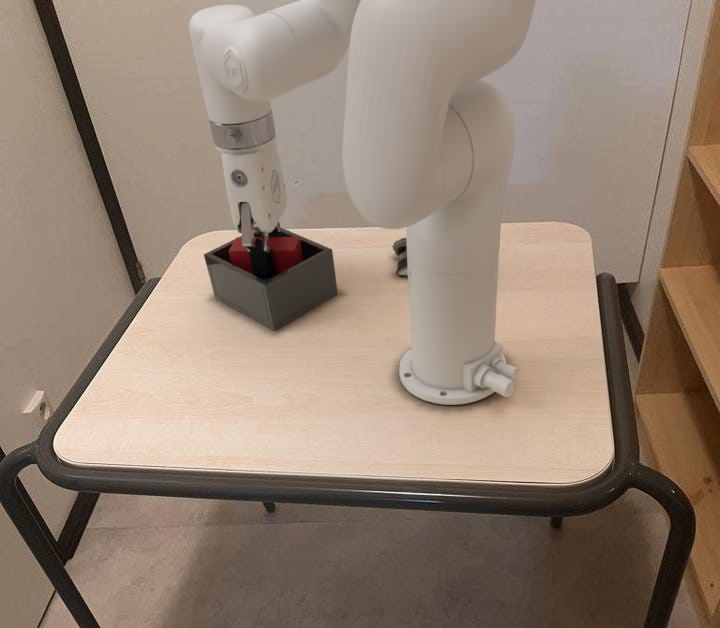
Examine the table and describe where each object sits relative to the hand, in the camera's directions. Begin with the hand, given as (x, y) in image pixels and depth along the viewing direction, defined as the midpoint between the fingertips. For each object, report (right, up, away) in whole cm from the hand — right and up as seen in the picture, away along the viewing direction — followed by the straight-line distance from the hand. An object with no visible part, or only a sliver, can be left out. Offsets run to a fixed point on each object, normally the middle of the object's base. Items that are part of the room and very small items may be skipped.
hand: (269, 267), depth 99 cm
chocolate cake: (+22, +1, +4) cm, 23 cm away
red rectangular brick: (0, 0, 0) cm, 0 cm away
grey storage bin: (0, -3, +3) cm, 4 cm away
